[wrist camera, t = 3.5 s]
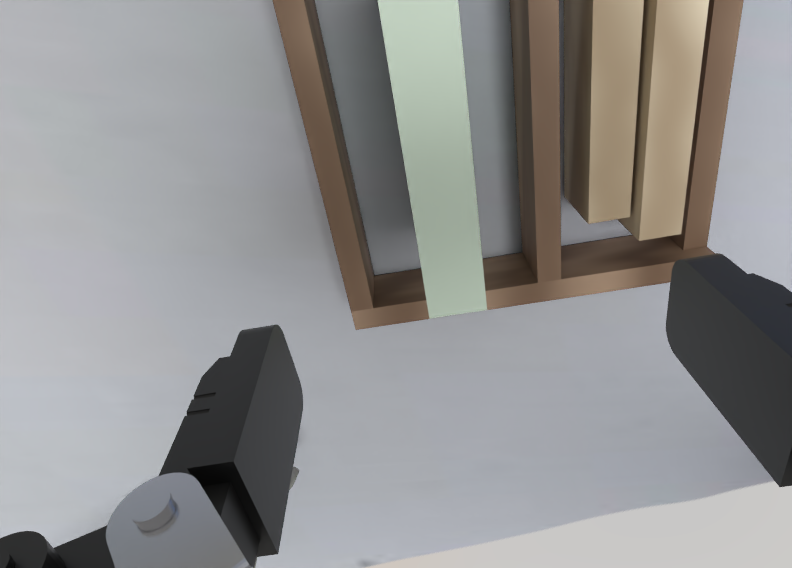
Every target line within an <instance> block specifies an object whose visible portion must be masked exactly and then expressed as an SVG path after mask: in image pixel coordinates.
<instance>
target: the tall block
mask: <svg viewBox="0 0 792 568" xmlns="http://www.w3.org/2000/svg"><path fill="white" fill-rule="evenodd" d="M378 6H379V12H380V19H381V25H382V31H383V37H384V43H385V49H386V55H387V62H388V68H389V74H390V80H391V86H392V92H393V98H394V105H395V111H396V117H397V123H398V129H399V135H400V141H401V147H402V154H403V160H404V166H405V172H406V178H407V184H408V190H409V197H410V203H411V209H412V215H413V221H414V227H415V233H416V240H417V246H418V252H419V258H420V264H421V270H422V276H423V282H424V289H425V295H426V301H427V307H428V313H429V319H431V318H438V317H444V316H451V315H458V314H464V313H471V312H477V311H484V310H487V303H486V292H485V282H484V271H483V261H482V250H481V239H480V229H479V218H478V207H477V197H476V186H475V176H474V165H473V154H472V144H471V133H470V122H469V112H468V101H467V91H466V80H465V69H464V59H463V48H462V38H461V27H460V16H459V6H458V0H378Z"/></svg>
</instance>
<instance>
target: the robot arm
mask: <svg viewBox="0 0 792 568" xmlns="http://www.w3.org/2000/svg"><path fill="white" fill-rule="evenodd" d="M666 332H667V338H668V341H669V344H670V347H671V349H672V351H673V353H674V354H675V356H676V357H677V358H678V359H679V361H680V362H681V363H682V364H683V366H684V367H685V368H686V369H687V371H688V372H689V373H690V375H691V376H692V377H693V378H694V380H695V381H696V382H697V383H698V385H699V386H700V387H701V388H702V390H703V391H704V392H705V393H706V395H707V396H708V397H709V398H710V400H711V401H712V402H713V404H714V405H715V406H716V407H717V409H718V410H719V411H720V412H721V414H722V415H723V416H724V417H725V419H726V420H727V421H728V422H729V424H730V425H731V426H732V427H733V429H734V430H735V431H736V433H737V434H738V435H739V436H740V438H741V439H742V440H743V441H744V443H745V444H746V445H747V446H748V448H749V449H750V450H751V451H752V453H753V454H754V455H755V456H756V458H757V459H758V460H759V462H760V463H761V464H762V465H763V467H764V468H765V469H766V470H767V472H768V473H769V474H770V475H771V477H772V478H773V479H774V480H775V482H776V483H777V484H778V485H779V487H784V486H791V485H792V292H790V291H789V290H788V289H786V288H785V287H784V286H783V285H780V284H778V283H775V282H773V281H771V280H768V279H766V278H763V277H761V276H758V275H756V274H753V273H752V274H747V273H745V272H744V271H743V270H742V269H740V268H739V267H738V266H737V265H735V264H734V263H733V262H732V261H730V260H729V259H728V258H727V257H725V256H724V255H722V254H718V253H716V254H710V255H704V256H698V257H692V258H686V259H680V260H677V261H676V262H675V263H674V265H673V268H672V274H671V283H670V292H669V301H668V310H667V320H666ZM302 411H303V395H302V388H301V384H300V380H299V377H298V374H297V371H296V369H295V366H294V363H293V360H292V357H291V354H290V351H289V348H288V346H287V343H286V340H285V337H284V334H283V332H282V330H281V328H280V327H279V326H278V325H271V326H265V327H259V328H253V329H247V330H242V331H241V332H240V333H239V335H238V338H237V340H236V343H235V345H234V348H233V350H232V353H231V356H230V357H224V358H219V359H218V360H217V361H216V362H215V363H214V364H213V365H212V367H211V368H210V369H209V370H208V371H207V372H206V373H205V374H204V375H203V376H202V378H201V380H200V383H199V385H198V387H197V389H196V392H195V394H194V400H192V401H191V403H190V405H189V408H188V410H187V416H185V417H184V419H183V421H182V424H181V426H180V428H179V431H178V433H177V435H176V437H175V440H174V442H173V444H172V447H171V449H170V451H169V453H168V456H167V458H166V460H165V463H164V465H163V467H162V469H161V472H160V474H159V476H158V477H155V478H153V479H151V480H149V481H147V482H145V483H143V484H142V485H140V486H139V487H137V488H136V489H134V490H133V491H132V492H131V493H130V494H128V495H127V496H126V497H125V498H124V499H123V500H122V501H121V503H120V504H119V505H118V506H117V508H116V509H115V511H114V512H113V514H112V515H111V518H110V520H109V522H108V525H107V526H105V527H103V528H101V529H98V530H96V531H93V532H91V533H89V534H86V535H84V536H81V537H79V538H77V539H74V540H72V541H69V542H67V543H65V544H62V545H60V546H57V547H55V548H53V547H52V546H51V545H50V544H49V542H48V541H47V540H46V539H45V538H44V537H43V536H42V535H41V534H39V533H37V532H34V531H24V532H18V533H14V534H10V535H8V536H5V537H3V538H1V539H0V568H254V566H255V561H256V557H259V556H267V555H274V554H278V552H279V546H280V540H281V534H282V528H283V522H284V516H285V511H286V505H287V499H288V493H289V487H290V481H291V475H292V470H293V464H294V458H295V452H296V446H297V440H298V434H299V429H300V423H301V417H302Z"/></svg>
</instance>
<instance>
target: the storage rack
mask: <svg viewBox="0 0 792 568" xmlns="http://www.w3.org/2000/svg"><path fill="white" fill-rule="evenodd" d="M273 4H274V8H275V12H276V16H277V20H278V24H279V28H280V32H281V36H282V40H283V44H284V48H285V52H286V55H287V59H288V63H289V67H290V71H291V75H292V79H293V83H294V87H295V91H296V95H297V99H298V103H299V107H300V111H301V115H302V119H303V123H304V127H305V131H306V135H307V139H308V143H309V147H310V150H311V154H312V158H313V162H314V166H315V170H316V174H317V178H318V182H319V186H320V190H321V194H322V198H323V202H324V206H325V210H326V214H327V218H328V222H329V226H330V230H331V234H332V238H333V242H334V246H335V249H336V253H337V257H338V261H339V265H340V269H341V273H342V277H343V281H344V285H345V289H346V293H347V297H348V301H349V305H350V309H351V313H352V317H353V321H354V325H355V329H356V330H359V329H365V328H372V327H378V326H385V325H391V324H398V323H405V322H411V321H418V320H424V319H429V313H428V307H427V301H426V295H425V289H424V282H423V276H422V270H421V269H415V270H408V271H402V272H396V273H390V274H383V275H377V276H374V273H373V268H372V264H371V259H370V254H369V250H368V245H367V240H366V236H365V231H364V227H363V222H362V217H361V213H360V208H359V204H358V199H357V194H356V190H355V185H354V180H353V176H352V171H351V167H350V162H349V157H348V153H347V148H346V144H345V139H344V134H343V130H342V125H341V121H340V116H339V111H338V107H337V102H336V97H335V93H334V88H333V84H332V79H331V74H330V70H329V65H328V61H327V56H326V51H325V47H324V42H323V38H322V33H321V28H320V24H319V19H318V14H317V10H316V5H315V1H314V0H273ZM742 6H743V0H709V6H708V14H707V22H706V31H705V39H704V47H703V56H702V64H701V72H700V81H699V89H698V98H697V106H696V114H695V123H694V131H693V139H692V148H691V156H690V164H689V173H688V181H687V189H686V198H685V206H684V214H683V223H682V231H681V234H678V235H672V236H666V237H660V238H654V239H648V240H642V241H639V240H638V239H637V238H636V237H635V236H634V235H630V236H624V237H617V238H611V239H605V240H598V241H592V242H586V243H579V244H573V245H567V246H561V207H560V85H559V0H510V18H511V38H512V58H513V78H514V98H515V118H516V138H517V158H518V178H519V197H520V217H521V237H522V253H516V254H510V255H503V256H497V257H491V258H484V259H482V261H483V271H484V282H485V292H486V303H487V310H490V309H497V308H503V307H510V306H517V305H523V304H530V303H536V302H543V301H550V300H556V299H563V298H569V297H576V296H582V295H589V294H596V293H602V292H609V291H615V290H622V289H629V288H635V287H642V286H648V285H655V284H661V283H668V282H671V274H672V268H673V265H674V263H675V262H676V261H677V260H680V259H686V258H692V257H698V256H704V255H710V254H715V253H714V252H713V251H711V250H710V249H709V248H708V247H707V241H708V234H709V227H710V221H711V214H712V207H713V201H714V194H715V187H716V181H717V174H718V167H719V160H720V154H721V147H722V140H723V134H724V127H725V120H726V114H727V107H728V100H729V94H730V87H731V80H732V73H733V67H734V60H735V53H736V47H737V40H738V33H739V27H740V20H741V13H742Z"/></svg>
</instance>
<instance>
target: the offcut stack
mask: <svg viewBox="0 0 792 568" xmlns="http://www.w3.org/2000/svg"><path fill="white" fill-rule="evenodd" d="M708 6H709V0H564V197H565V198H566V199H567V200H568V201H569V202H570V204H571V205H572V206H573V207H574V208H575V209H576V210H577V211H578V213H579V214H580V215H581V216H582V217H583V218H584V219H585V221H586V222H587V223H588V224H591V223H597V222H603V221H609V220H615V219H617V220H618V221H619V222H620V223H621V224H622V225H623V226H624V227H625V228H626V229H627V230H628V231H629V232H630V233H631V234H633V235H634V236H635V237H636V238H637V239H638V240H639V241H642V240H648V239H654V238H660V237H666V236H672V235H678V234H681V231H682V223H683V214H684V206H685V198H686V189H687V181H688V173H689V164H690V156H691V148H692V139H693V131H694V123H695V114H696V106H697V98H698V89H699V81H700V72H701V64H702V56H703V47H704V39H705V31H706V22H707V14H708Z"/></svg>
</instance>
